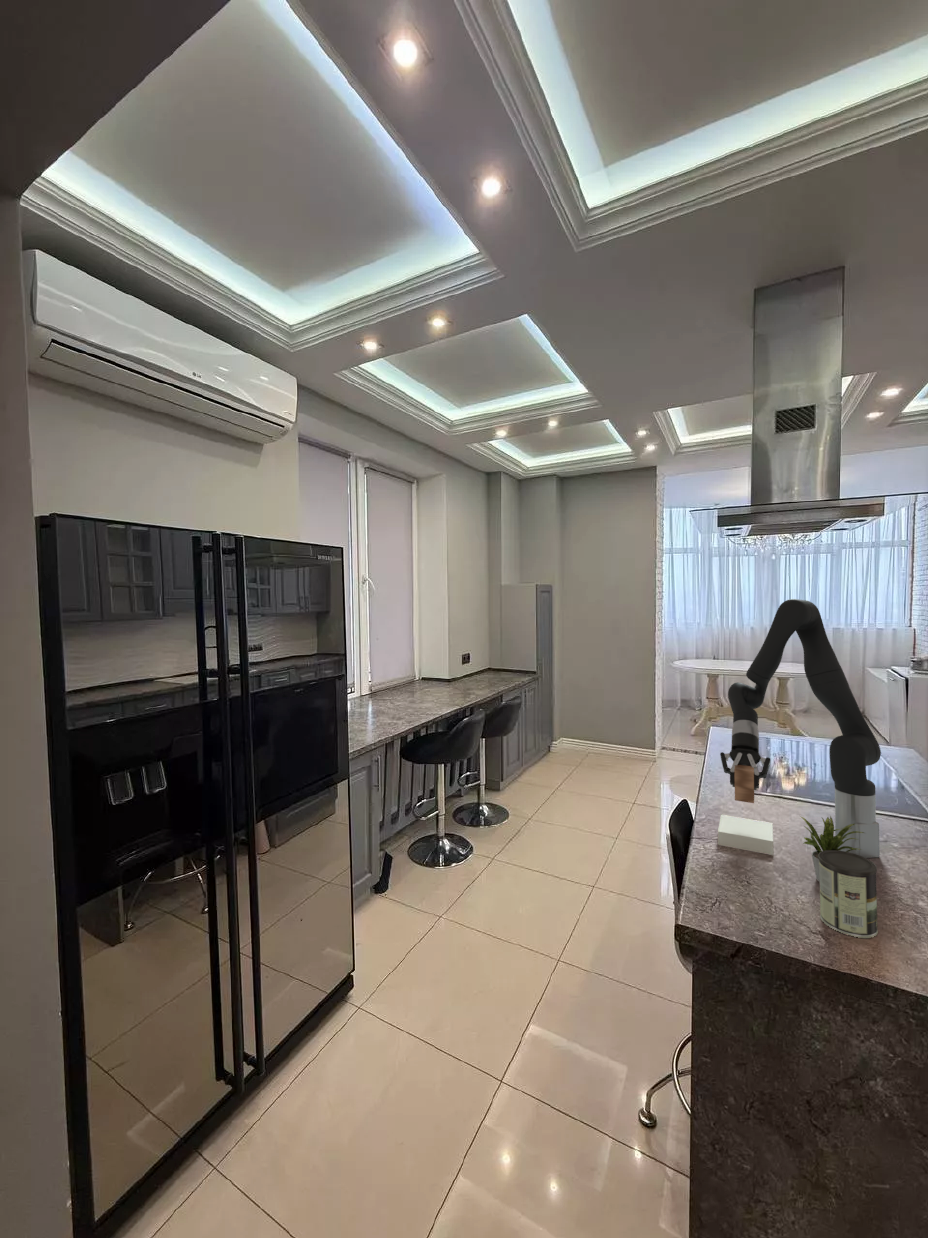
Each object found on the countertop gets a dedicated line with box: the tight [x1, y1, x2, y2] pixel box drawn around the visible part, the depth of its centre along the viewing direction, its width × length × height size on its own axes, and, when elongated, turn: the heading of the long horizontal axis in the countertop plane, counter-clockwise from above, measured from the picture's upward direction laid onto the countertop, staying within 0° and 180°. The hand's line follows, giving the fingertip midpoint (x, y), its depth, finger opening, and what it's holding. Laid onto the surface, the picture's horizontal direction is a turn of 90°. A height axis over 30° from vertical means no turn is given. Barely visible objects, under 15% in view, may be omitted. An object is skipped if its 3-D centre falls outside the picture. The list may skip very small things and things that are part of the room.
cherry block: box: [734, 765, 755, 804], centre depth 152 cm, size 5×5×10 cm
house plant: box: [799, 814, 864, 883], centre depth 127 cm, size 14×14×16 cm
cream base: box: [717, 814, 774, 856], centre depth 152 cm, size 14×14×4 cm
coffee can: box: [818, 850, 879, 939], centre depth 111 cm, size 10×10×14 cm
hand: (744, 787), depth 150 cm, fingers closed on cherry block, 5 cm apart
